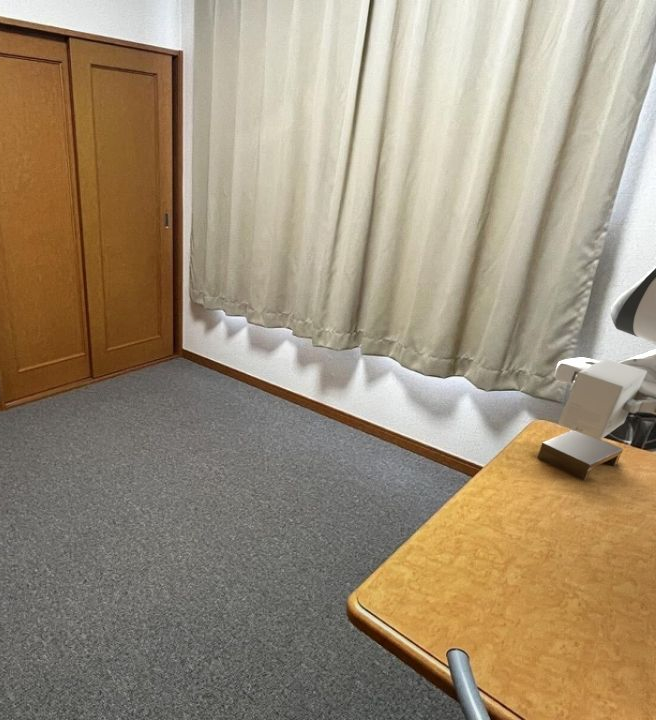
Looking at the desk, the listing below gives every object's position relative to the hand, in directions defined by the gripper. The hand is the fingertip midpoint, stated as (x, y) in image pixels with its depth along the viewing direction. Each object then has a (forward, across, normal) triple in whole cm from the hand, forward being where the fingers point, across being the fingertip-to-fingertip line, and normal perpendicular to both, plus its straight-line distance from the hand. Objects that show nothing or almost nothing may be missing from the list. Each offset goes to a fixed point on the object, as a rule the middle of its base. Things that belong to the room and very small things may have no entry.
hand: (600, 397), depth 81 cm
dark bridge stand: (-6, -2, +17) cm, 18 cm away
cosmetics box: (-1, 0, +6) cm, 6 cm away
